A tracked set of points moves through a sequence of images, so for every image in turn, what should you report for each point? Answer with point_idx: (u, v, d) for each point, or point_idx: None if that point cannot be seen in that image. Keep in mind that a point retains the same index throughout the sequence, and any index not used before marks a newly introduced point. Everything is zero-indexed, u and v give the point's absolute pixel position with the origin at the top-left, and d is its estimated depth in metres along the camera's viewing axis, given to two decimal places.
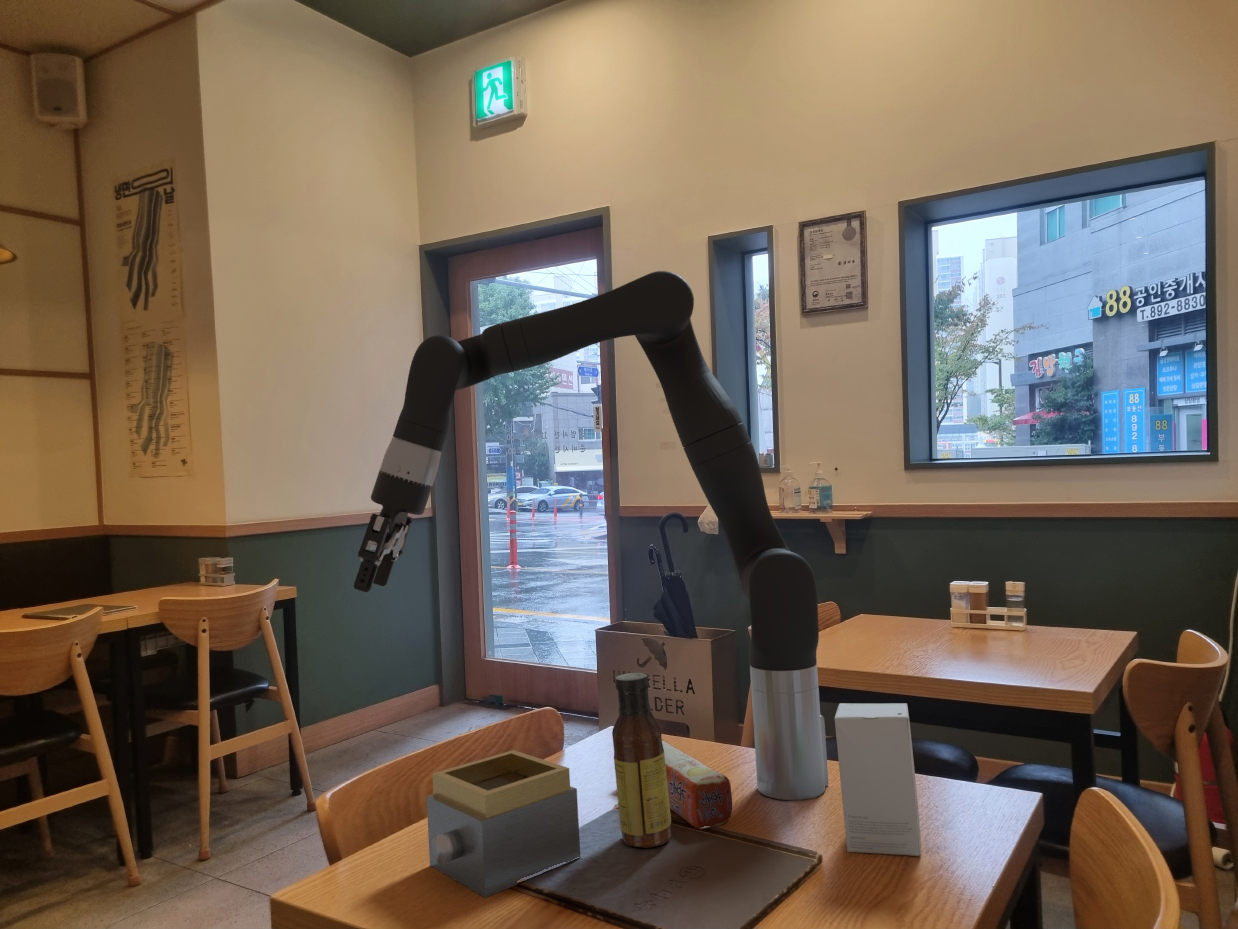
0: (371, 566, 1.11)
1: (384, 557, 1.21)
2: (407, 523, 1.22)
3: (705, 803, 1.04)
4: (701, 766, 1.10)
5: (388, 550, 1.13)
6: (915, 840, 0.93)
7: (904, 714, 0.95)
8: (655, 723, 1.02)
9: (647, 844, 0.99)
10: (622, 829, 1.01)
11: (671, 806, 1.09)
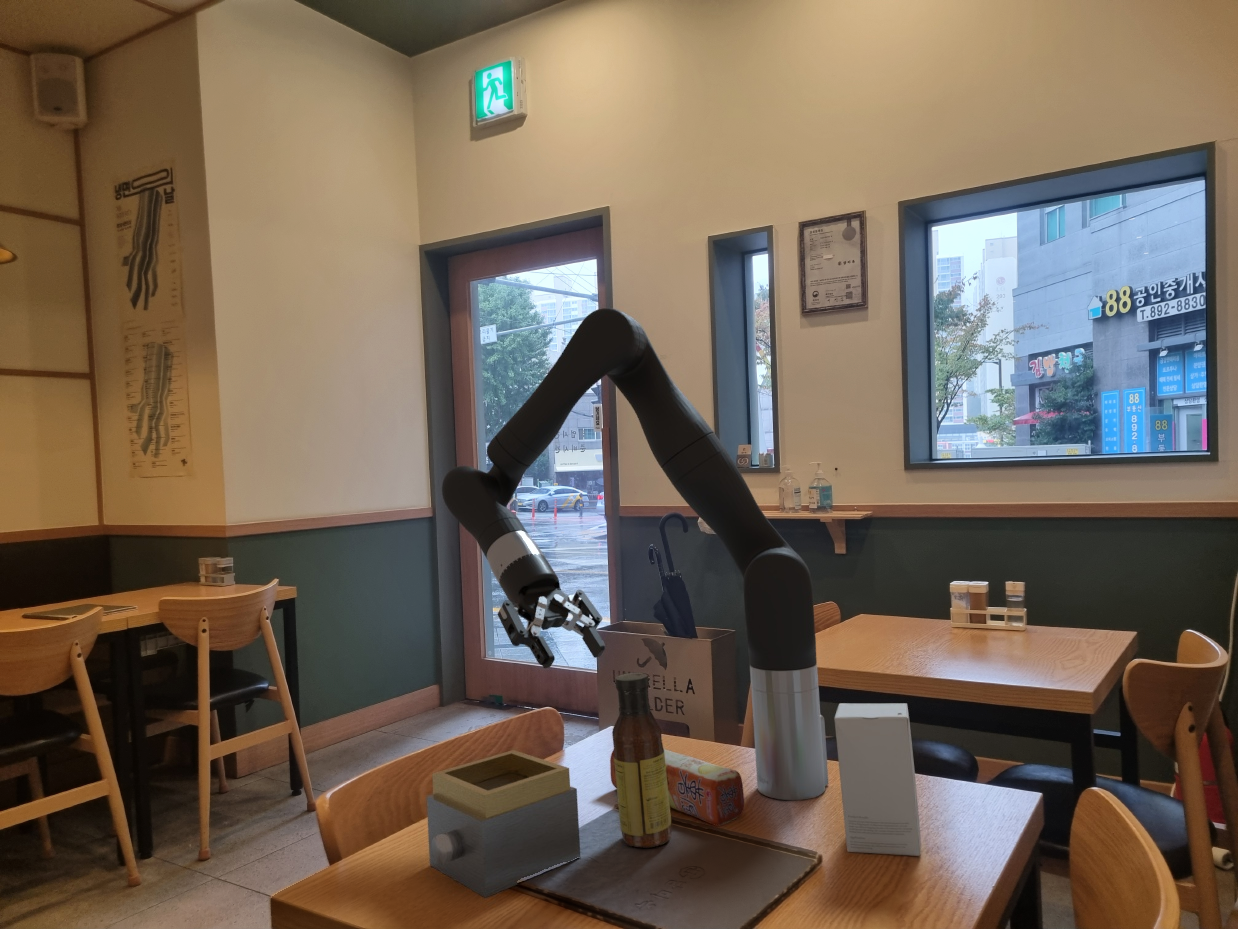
0: (532, 641, 1.10)
1: (584, 633, 1.17)
2: (578, 596, 1.20)
3: (724, 799, 1.06)
4: (707, 763, 1.11)
5: (538, 620, 1.12)
6: (915, 840, 0.93)
7: (904, 714, 0.94)
8: (655, 723, 1.02)
9: (647, 844, 0.99)
10: (622, 829, 1.01)
11: (680, 806, 1.09)
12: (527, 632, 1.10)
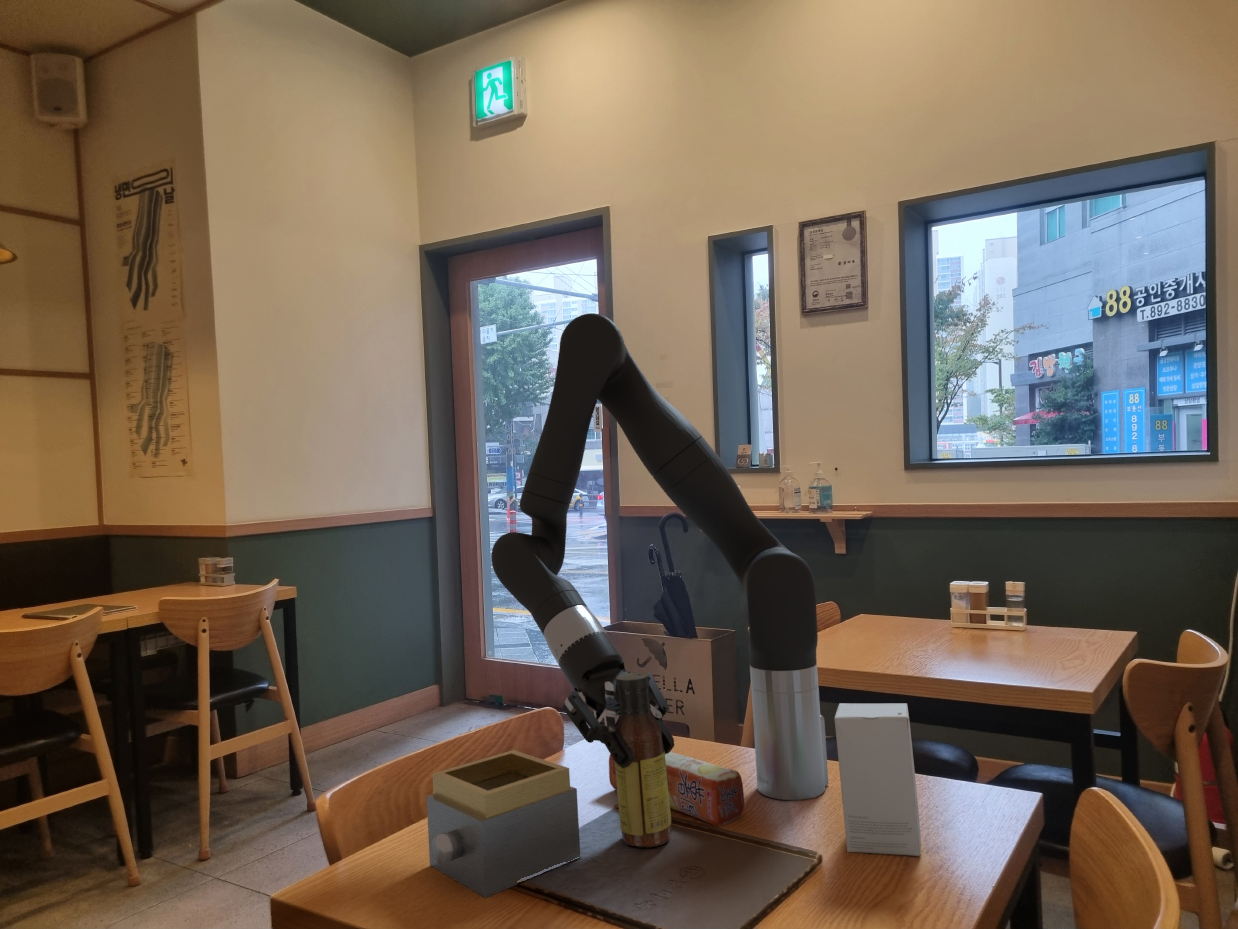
0: (608, 737, 1.00)
1: None
2: None
3: (725, 799, 1.05)
4: (707, 764, 1.11)
5: (611, 711, 1.02)
6: (915, 840, 0.93)
7: (904, 714, 0.95)
8: (656, 723, 1.02)
9: (647, 844, 0.99)
10: (622, 829, 1.01)
11: (680, 807, 1.09)
12: (602, 728, 1.01)
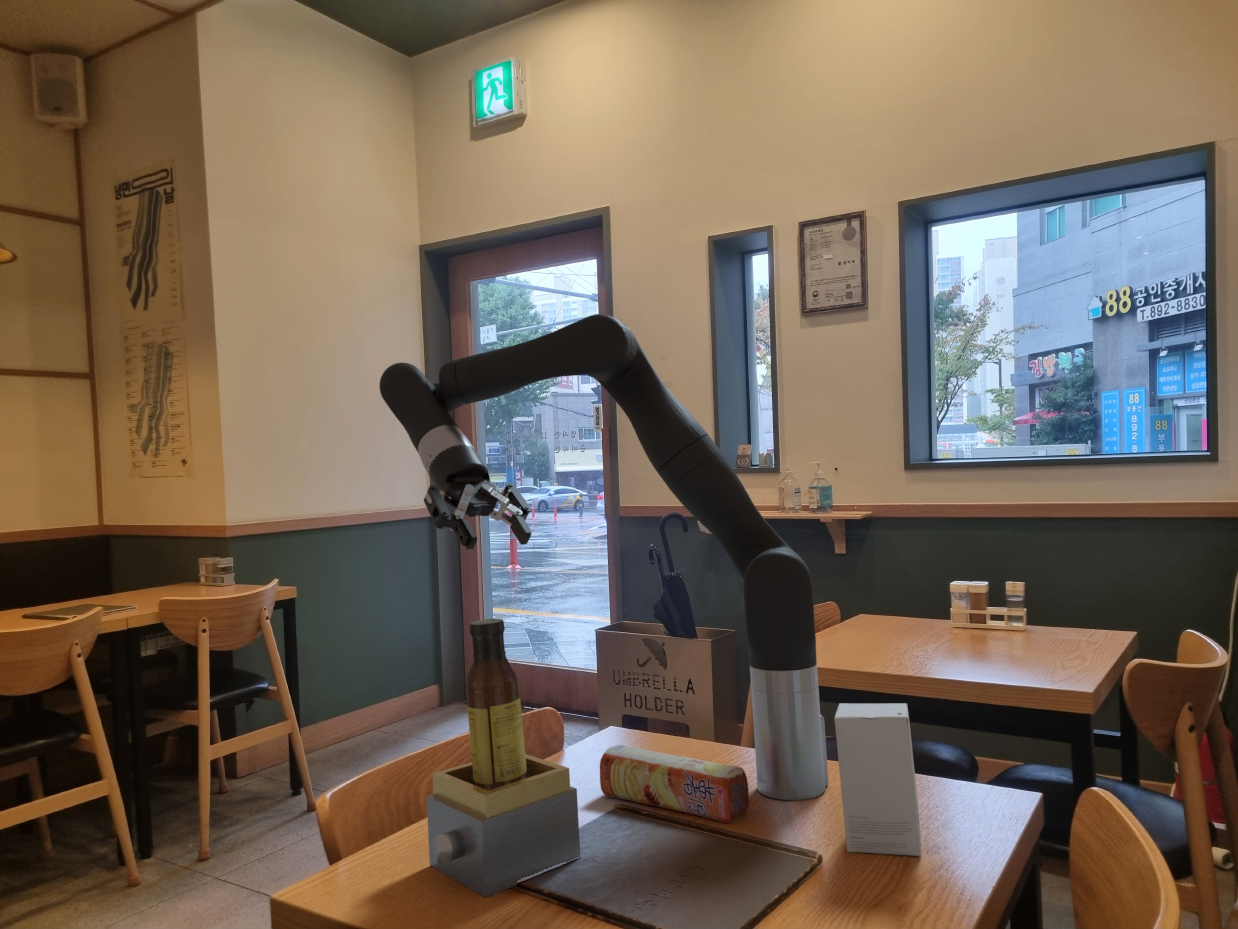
0: (456, 523, 1.10)
1: (512, 522, 1.17)
2: (508, 488, 1.21)
3: (735, 795, 1.06)
4: (709, 762, 1.12)
5: (463, 504, 1.12)
6: (915, 840, 0.93)
7: (904, 714, 0.95)
8: (509, 669, 0.99)
9: None
10: (474, 778, 0.98)
11: (687, 807, 1.09)
12: (451, 515, 1.11)
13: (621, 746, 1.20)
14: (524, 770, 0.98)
